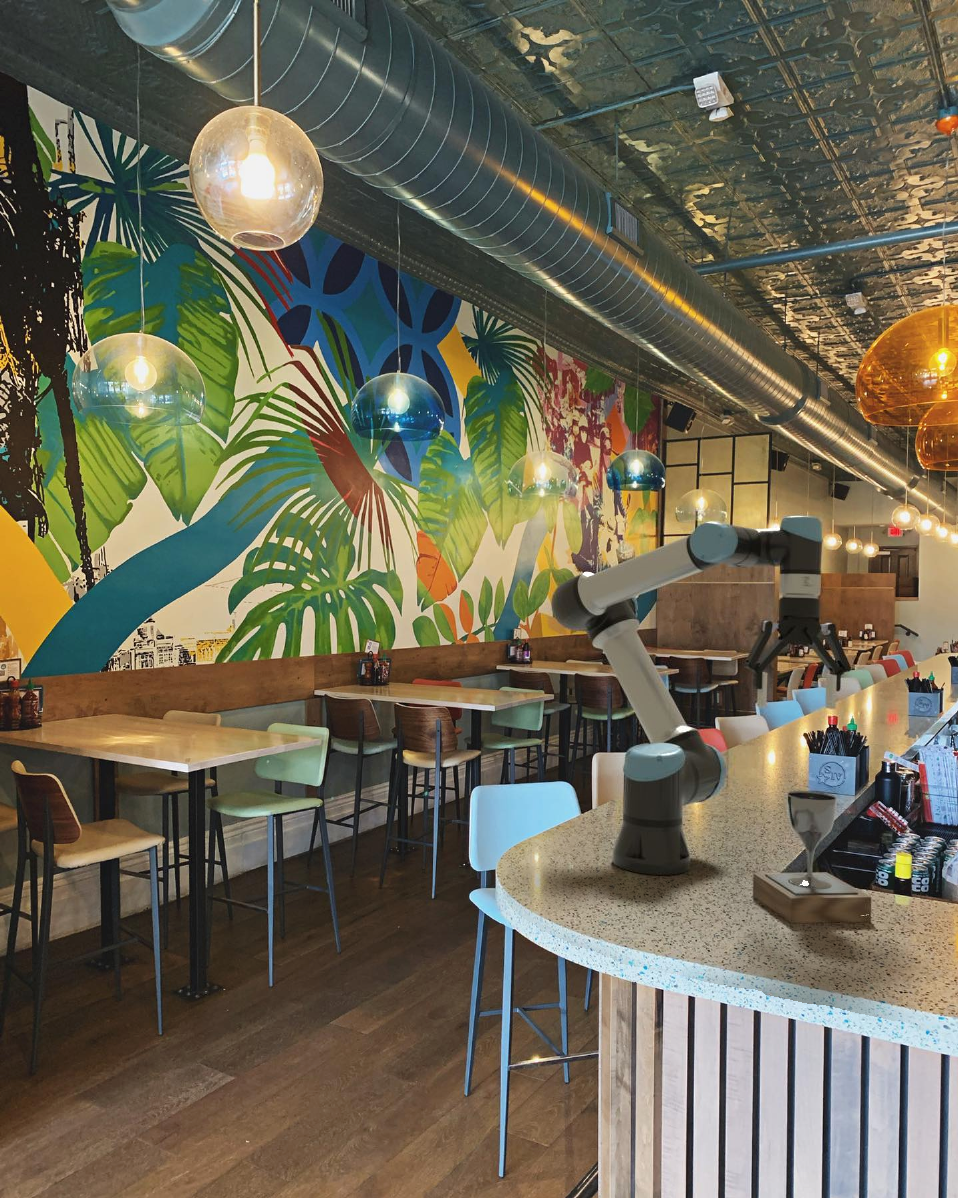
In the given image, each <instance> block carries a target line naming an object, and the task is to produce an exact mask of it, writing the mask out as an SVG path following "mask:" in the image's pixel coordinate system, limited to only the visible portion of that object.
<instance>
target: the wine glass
mask: <svg viewBox="0 0 958 1198" xmlns="http://www.w3.org/2000/svg"><path fill="white" fill-rule="evenodd" d="M786 793H787V794H786V809H787V810H786V811H787V817H788V822H789V824H790V827H791V828H792V830H793V831H794V833H795V834H796V836H797V837H798V838H799V839H800V841H801V842H802V843H803V846H804V848H805V852H806V859H807V860H806V861H807V864H806V865H807V867H806V868H807V870H806V871H807V872H806V873H807V875H806V876H796V877H790V878H789V879H788V882H789V883H791V884H793V885H795V886H799V887H803V888H809V889H828V888H830V887H832V885H831V883H829V882H827V881H825V880H822V879H818V878H815V877H814V876H813V875H812V873H813V863H814V855H815V850H816V848H817V847H818V845H819V844H820V842H822V841H823V840H824V838H826V837H827V836H828V834H829V833H830V832H831V831H832V829H833V826H834V823H835V819H836V812H837V797H836V796H835V795H833V794H830V793H827V792H821V791H814V790H812V791H811V790H792V791H788V792H786Z"/></svg>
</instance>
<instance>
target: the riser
mask: <svg viewBox="0 0 958 1198" xmlns="http://www.w3.org/2000/svg"><path fill="white" fill-rule="evenodd" d="M752 874H753V878H752V881H753V882H752V897H753V898H755V899H757V900H758V901H759V902H761V903H762V904H763V905H765V906H766V907H768V908H770V909H771V910H772V911H773V912H775V913H776V914H777V915H779V916H781V917H782V918H783V919H785V920H786V921H787V922H789V923H790V924H805V923H806V924H809V923H810V924H811V923H812V924H814V923H859V922H860V923H862V922H864V923H865V922H867V923H868V922H869V923H871V921H872V896H870V895H868V894H867V893H864V892H863V891H861V890H859V889H857V888H855V887H854V886H852V885H851V884H848V883H847V882H845V881H843V880H841V879H839V878H838V877H836V876H834V875H832V874H830V873H828V872H825V871H824V872H822V871H821V872H812V875H813V876H814V877H815V878H818V879H822V880H825V881H827V882H829V883H831V885H832V887H830V888H828V889H809V888H803V887H799V886H795V885H793V884H791V883H789V882H788V879H789V878H790V877H796V876H806V875H807V872H757V873H756V872H753V873H752ZM866 914H869V915H867V916H861V915H866Z"/></svg>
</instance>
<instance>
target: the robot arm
mask: <svg viewBox="0 0 958 1198" xmlns="http://www.w3.org/2000/svg"><path fill="white" fill-rule="evenodd" d="M822 526H823V525H822V521H821V520H820V518H818V517H815V516H809V515H807V516H806V515H793V516H792V515H790V516H785V517H783V518H782V519H781V522H780V525H779V527H776V528H750V527H744V526H738V525H734V524H729V523H725V522H721V521H706V522H703V523H699V524H698V525H697V526H696V527H695V528H694V530H693V531H692V533H691V534H688V535H687V536H684V537H682V538H679V539H677V540H674V541H672V542H670V543H667V544H665V545H663V546H660V547H657V548H655V549H652V550H650V551H648V552H644V553H642V554H640V555H637V556H636V557H632V558H630V559H628V560H624V561H622V562H620V563H618V564H615V565H613V566H609V567H607V568H605V569H604V570H601V571H598V572H596V573H593V572H589V571H585V572H583V573H580V574H577V575H576V576H573V577H570V578H568V579H567V580H564V581H562V583H560V584H559V585H558V586H557V587H556V589H555V590H554V592H553V594H552V597H551V601H550V603H551V604H550V605H551V611H552V614H553V617H554V619H555V620H556V622H558V623H559V624H560V625H561V626H562V627H564V628H565V629H567V630H570V631H575V632H585V633H586V634H587V637H588V639H589V641H590V643H591V644H592V646H593V647H594V648H596V649H600V650H602V651H603V653H604V654H605V656H606V658H607V661H608V663H609V664H610V667H611V668H612V671H613V672H614V675H615V676H616V678H617V680H618V682H619V684H620V686H621V688H622V690H623V692H624V694H625V696H626V697H627V700H628V701H629V704H630V706H631V707H632V709H633V711H634V713H635V715H636V717H637V719H638V721H639V723H640V725H641V727H642V728H643V730H644V733H645V735H646V736H647V738H648V740H649V743H648V742H647V743H646V742H645V743H641V744H636V745H634V746H631V747H630V748H628V750H626V752H625V755H624V763H623V767H622V769H623V771H622V772H623V793H622V794H623V795H622V797H623V799H622V801H623V802H622V823H621V824H622V825H621V826H620V830H619V833H618V835H617V838H616V842H615V845H614V847H613V850H612V863H613V864H614V865H615V866H616V867H618V868H620V869H624V870H626V871H630V872H632V873H633V872H634V873H639V874H645V875H656V876H660V875H661V876H664V875H665V876H667V875H678V874H682V873H686V872H688V871H690V869H691V854H690V849H689V848H688V844H687V839H686V836H685V833H684V829H683V808H684V807H683V806H686V805H687V806H688V805H692V804H696V803H697V804H698V803H703V802H706V801H707V800H708V799H712V798H713V797H716V796H717V795H718V794H719V793H720V792H721V790H722V789H723V787H724V785H725V782H726V778H727V764H726V761H725V759H724V756H723V755H722V753H721V752H720V751H719V749H717V748H716V747H714V746H712V745H710V744H707V743H705V741H704V739H703V737H702V736H701V734H700V732H699V730H698V729H697V728H694V727H691V726H689V725H687V723H686V722H685V719H684V718H683V717H684V716H682V713H681V712H680V710H679V708H678V706H677V705H676V702H675V700H674V699H673V697H672V695H671V693H670V692H669V689H668V687H667V685H666V684H665V682H664V680H663V679H662V677H661V675H660V673H659V671H658V669H657V667H656V666H655V664H654V662H653V660H652V658H651V656H650V654H649V652H648V651H647V649H646V647H645V645H644V643H643V641H642V639H641V637H640V636H639V633H638V630H639V627H640V621H639V619H638V610H639V605H638V601H637V598H636V597H637V596H640V595H643V594H645V593H647V592H648V593H649V592H650V591H653V590H656V589H659V588H661V587H665V586H666V585H669V584H671V583H674V582H677V581H679V580H682V579H685V578H688V577H690V576H692V575H696V574H698V573H701V572H704V571H708V570H709V569H713V568H715V567H717V566H720V565H724V564H725V565H726V566H727V567H732V568H733V567H734V568H735V567H736V568H741V569H743V568H750V567H751V568H756V567H757V568H758V567H761V568H762V567H779V582H778V584H779V585H778V594H779V596H781V597H780V598H779V599H778V614H777V616H778V621H777V622H772V620H771V621H770V620H763V621H762V622H761V627H760V632H759V635H758V636H757V638H756V640H755V642H754V644H753V646H752V648H751V650H750V651H749V653H748V655H747V657H746V659H745V661H744V663H743V667H744V668H745V669H749V670H751V671H752V673H753V681H752V686H753V689H756V690H757V699H756V706H757V707H760V708H767V703H768V701H767V700H768V698H767V697H768V672H764V671H765V669H767V668H768V666H769V665H770V664H771V663H772V662H773V661H774V659H775V658H776V657H777V656H778V655H779V653H781V651H782V650H783V649H784V648H785V647H787V646H803V647H804V646H805V647H807V646H809V647H810V648H811V649H812V650H813V651H814V653H815V654H816V655H817V656H818V658H819V659H820V661H822V663H823V665H824V666H825V667H826V669H828V671H829V672H830V673H826V675H825V678H826V679H825V709H829V710H830V709H831V710H836V709H837V692H840V691H841V683H842V682H841V681H842V680H841V679H842V676H843V675H844V674H845V673H847V672H851V670H852V665H851V664H850V661H849V659H848V657H847V654H846V653H845V651H844V649H843V646H842V644H841V641H840V640H839V639H840V638H839V637H838V635H837V625H836V624H835V623H832V622H826V623H824V624H823V623H822V624H821V623H820V622H821V621H820V616H821V600H820V599H819V598H818V597H819V596H820V595H821V583H822V582H821V581H822V556H823V555H822V553H823V552H822V550H823V542H824V541H823V540H824V539H823V527H822ZM775 631H777V632H778V634H779V635H778V637H776V638H775V640H774V642H773V644H772V645H771V646H770V647H769V648H768V649H767V650H766V651H765V653H764V654H763V655H762V653H763V651H764V649H765V647H766V646H767V643H768V642H769V640H770V638H771V636H772V634H773V633H775ZM819 633H822V635H824V637H825V639H826V641H827V644H828V647H829V649H830V651H831V653H832V655H831V654H830V653H829V651H828V650H827V649H826V648H825V646H824V645H823V642H822V641H821V639H820V638H819V637H818V635H819ZM761 655H762V656H761ZM832 656H833V657H832Z"/></svg>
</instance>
